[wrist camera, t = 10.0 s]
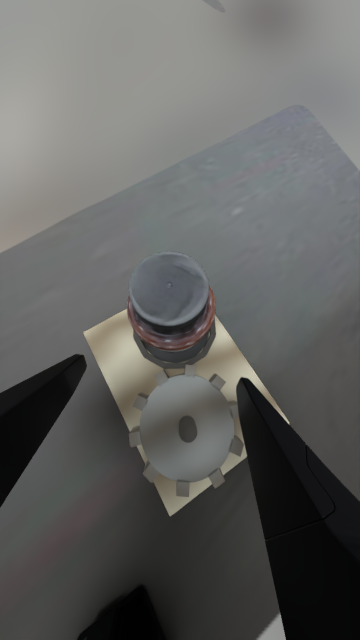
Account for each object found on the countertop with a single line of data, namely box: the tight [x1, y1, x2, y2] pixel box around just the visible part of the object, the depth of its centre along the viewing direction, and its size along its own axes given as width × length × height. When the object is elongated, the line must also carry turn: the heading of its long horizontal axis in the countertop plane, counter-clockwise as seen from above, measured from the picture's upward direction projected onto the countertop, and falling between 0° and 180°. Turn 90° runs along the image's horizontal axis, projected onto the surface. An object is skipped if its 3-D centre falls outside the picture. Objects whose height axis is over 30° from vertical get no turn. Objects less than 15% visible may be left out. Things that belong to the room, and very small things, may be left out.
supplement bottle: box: [127, 251, 216, 353], centre depth 13 cm, size 6×6×11 cm
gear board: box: [84, 309, 289, 517], centre depth 16 cm, size 20×14×4 cm
